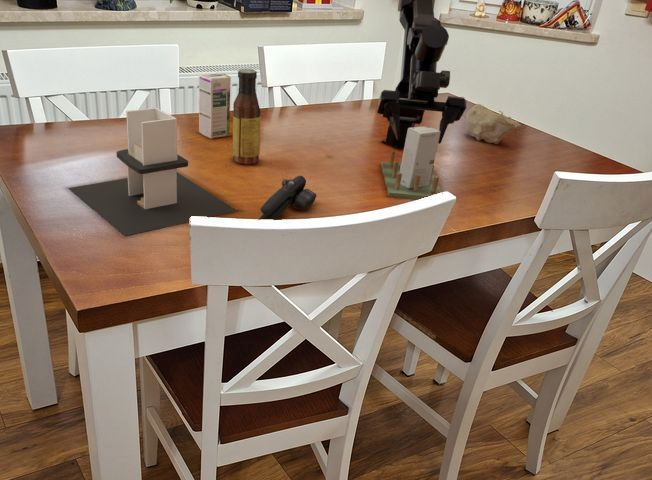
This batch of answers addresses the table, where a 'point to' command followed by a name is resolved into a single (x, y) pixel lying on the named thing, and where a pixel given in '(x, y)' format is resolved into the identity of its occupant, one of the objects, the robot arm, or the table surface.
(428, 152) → the cosmetic box
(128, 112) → the box holder stand
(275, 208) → the can opener
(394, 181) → the plate rack
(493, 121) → the beige lumpy chunk
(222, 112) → the syrup box
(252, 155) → the sauce bottle
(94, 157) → the table surface
